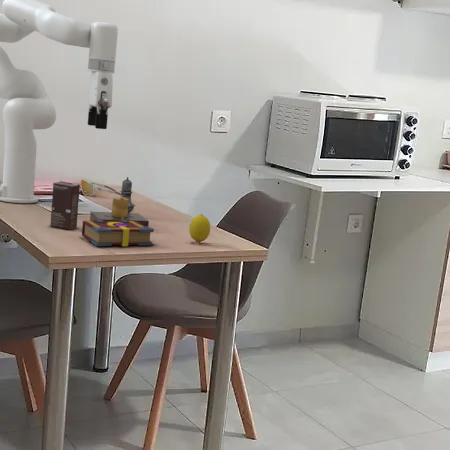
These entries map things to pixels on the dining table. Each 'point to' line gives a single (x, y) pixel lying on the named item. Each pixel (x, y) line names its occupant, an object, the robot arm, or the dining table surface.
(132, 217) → the lock plate
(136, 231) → the decorative book
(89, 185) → the sunglasses
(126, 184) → the grey textured elongated piece
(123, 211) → the lock knob
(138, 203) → the dining table surface
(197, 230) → the lemon
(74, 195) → the box
